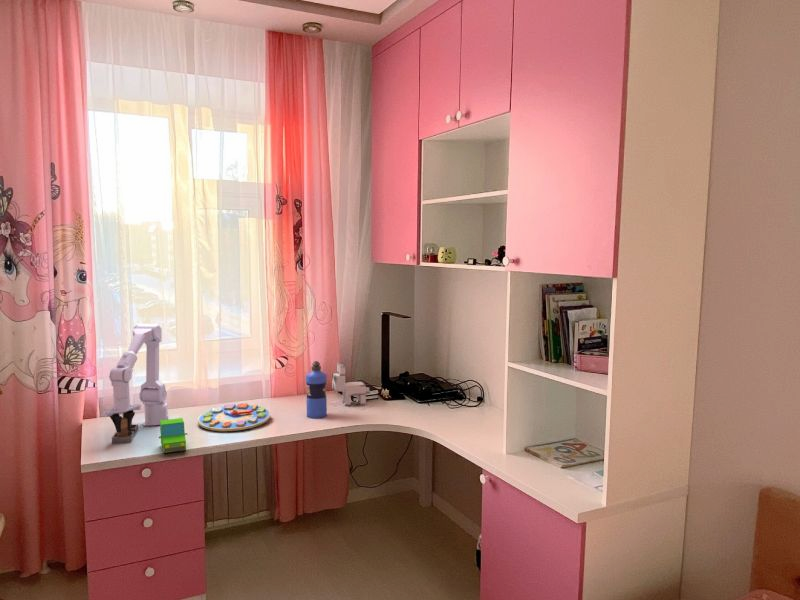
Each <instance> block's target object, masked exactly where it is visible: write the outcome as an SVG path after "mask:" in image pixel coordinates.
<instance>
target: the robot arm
mask: <svg viewBox="0 0 800 600" xmlns="http://www.w3.org/2000/svg"><path fill="white" fill-rule="evenodd" d="M162 334H163V330H162V327H161V326H160V324H158V323H135V325H134V326H133V328H132V336H133V337H132V340H131V342H130V344H129V347H128V349H127V351H124V352H123V353H122V355H121V357H120V359H119V360H118V363H117V364H116V366H115V367H113V368H112V369H111V370H110V372H109V376H108V377H109V380H110V382H111V387H112V388H113V389H112V390H113V408H111V409H107V410H105V411H103V412H102V417H103V418H108V417H109V418H110V420H111V421H112V422H113V425H114V427H115V432H118V433H120V432H121V419H122V417H123V416H124V417H125V418H127V420H128V430H129V429H130V424H131V421H132V422H133V419H134V416H135V414H136V412H135V411H140V410H142V408H141V404H139V403H137V404H136V403H135V404H131V403H130V400H131V399H130V381H131V379H132V377H133V370H134V369H133V368H134V366H135V364H136V362H137V360H138V356H137V354H138V353H139V351H140V350H141V348H142V346H143V345H144V344H145V346H146V356H145V357H146V361H145V363H146V365H145V366H146V367H145V369H146V371H145V372H146V374H145V375H146V377H145V382H144V383H143V384H141V385H140V391H139V394H138V397H139V400H140V402H142V404H143V406H144V422H143V424H142V426H143V427H147V426H149V427H150V426H160V420H168V419H169V405H168V402H166V401H165V400H166V399H167V390H166V384H165V383H164V382H162V381H161V380H160V343H161V342H162ZM121 415H122V416H121Z"/></svg>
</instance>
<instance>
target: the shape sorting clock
mask: <svg viewBox="0 0 800 600" xmlns="http://www.w3.org/2000/svg"><path fill="white" fill-rule="evenodd" d="M269 419H271V411H270V410H269V409H267V408H266V407H263V406H259V405H258V404H249V403H239V404H234V403H233V404H232V403H228V404H225V405H224V406H220V407H213V408H211V409H209V410H207V411H205V412H203V413H202V414H200V415H199V416H198V417H197V424H198V425H199V426H200V427H201V428H202V429H203V428H205V429H207V430H210V431H214V432H215V431H216V432H233V431H234V432H235V431H242V430H253V429H254V428H255V427H258V426H261V425H262V424H265V423H266V422H268V421H269ZM253 427H254V428H253ZM252 428H253V429H252Z"/></svg>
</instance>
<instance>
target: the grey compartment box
mask: <svg viewBox="0 0 800 600" xmlns="http://www.w3.org/2000/svg"><path fill="white" fill-rule="evenodd" d="M122 417H124V416H123V415H122ZM138 429H139V423H137V424H136V423H135V424H133V420H132V421H131V424H130V429H129V430H128V436H124V437H118V436H117V432H116V431H115V433H114V434H113V435H112V437H111V444H112V445H113V444H114V443H116V444H128V443H133V440H134V439H133V438H135V437H136V435H137V433H138V432H137V431H139V430H138ZM114 445H115V444H114Z"/></svg>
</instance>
